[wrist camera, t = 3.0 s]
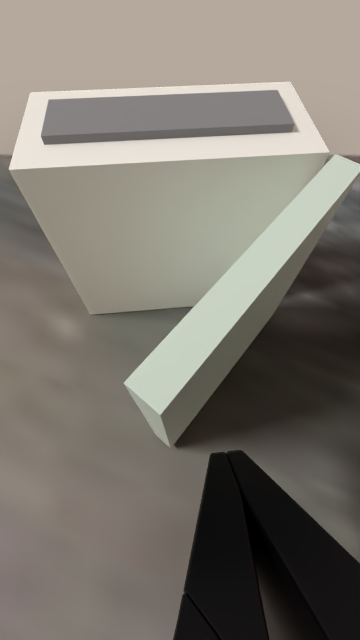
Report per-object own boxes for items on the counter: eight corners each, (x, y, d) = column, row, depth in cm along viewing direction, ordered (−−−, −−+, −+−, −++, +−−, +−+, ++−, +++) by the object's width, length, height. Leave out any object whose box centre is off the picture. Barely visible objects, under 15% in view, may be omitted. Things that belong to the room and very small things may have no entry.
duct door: (272, 314, 18) (364, 166, 9) (170, 448, 14) (160, 415, 6) (259, 306, 18) (335, 153, 9) (156, 435, 15) (123, 382, 6)
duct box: (258, 301, 19) (333, 143, 10) (90, 314, 18) (3, 161, 9) (243, 243, 21) (292, 73, 12) (93, 254, 21) (26, 83, 12)
